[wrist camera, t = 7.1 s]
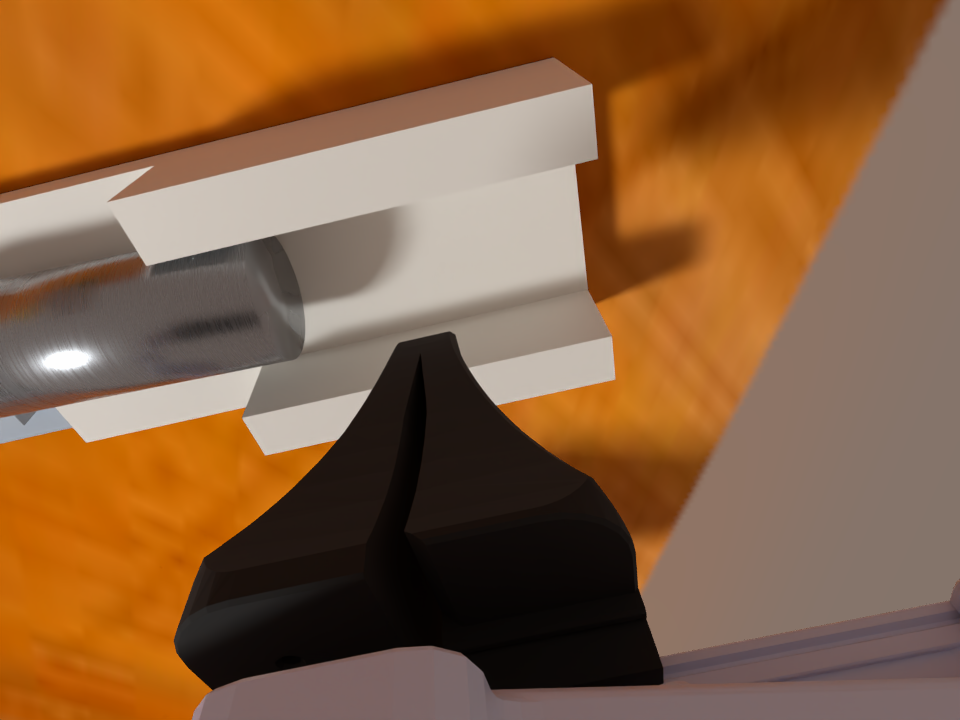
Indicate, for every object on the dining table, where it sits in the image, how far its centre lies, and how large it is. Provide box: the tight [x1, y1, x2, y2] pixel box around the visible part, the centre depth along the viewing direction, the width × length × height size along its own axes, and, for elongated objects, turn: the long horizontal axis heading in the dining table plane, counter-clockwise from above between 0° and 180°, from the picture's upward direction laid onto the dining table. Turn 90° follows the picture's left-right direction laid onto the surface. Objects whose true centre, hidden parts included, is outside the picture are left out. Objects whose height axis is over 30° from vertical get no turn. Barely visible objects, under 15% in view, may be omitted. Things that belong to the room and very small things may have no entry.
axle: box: [0, 236, 305, 418], centre depth 17 cm, size 10×4×4 cm, turn 100°
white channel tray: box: [0, 57, 615, 455], centre depth 18 cm, size 9×20×4 cm, turn 102°
